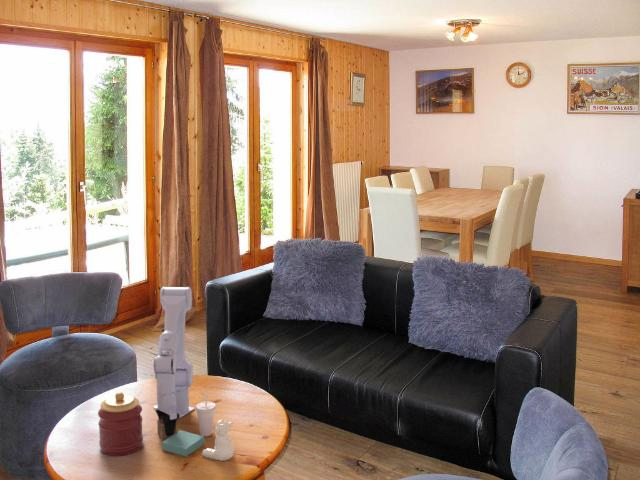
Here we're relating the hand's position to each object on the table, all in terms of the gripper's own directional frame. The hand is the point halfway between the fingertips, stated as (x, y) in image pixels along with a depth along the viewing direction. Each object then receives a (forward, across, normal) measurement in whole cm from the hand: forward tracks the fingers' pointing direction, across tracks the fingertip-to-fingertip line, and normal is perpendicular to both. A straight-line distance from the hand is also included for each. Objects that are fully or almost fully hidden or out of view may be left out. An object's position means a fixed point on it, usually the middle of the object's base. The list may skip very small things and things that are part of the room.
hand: (167, 431), depth 213 cm
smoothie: (+2, +4, +11) cm, 12 cm away
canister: (+2, 0, -14) cm, 15 cm away
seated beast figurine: (+2, +20, +11) cm, 23 cm away
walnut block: (+1, 0, 0) cm, 1 cm away
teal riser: (+1, +9, +2) cm, 10 cm away
